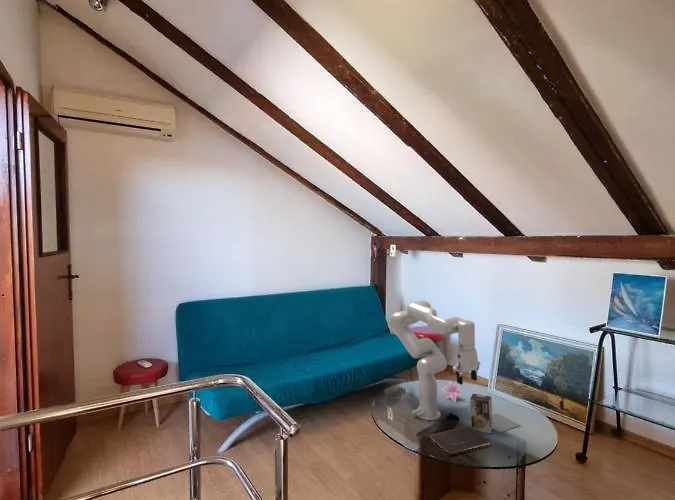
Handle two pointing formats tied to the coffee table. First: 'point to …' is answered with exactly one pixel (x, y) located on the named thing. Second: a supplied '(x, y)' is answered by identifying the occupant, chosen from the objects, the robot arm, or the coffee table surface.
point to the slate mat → (502, 423)
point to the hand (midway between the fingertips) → (466, 381)
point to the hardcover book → (459, 439)
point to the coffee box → (481, 413)
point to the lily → (452, 391)
